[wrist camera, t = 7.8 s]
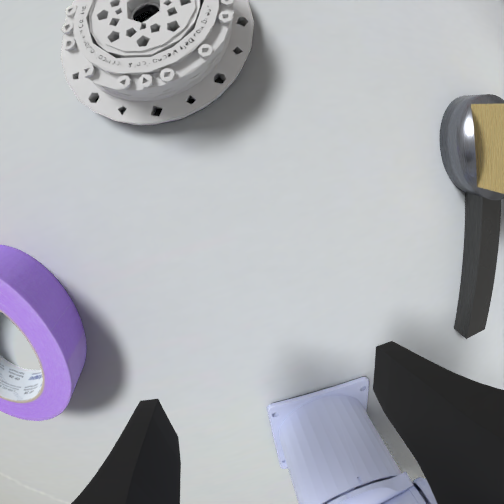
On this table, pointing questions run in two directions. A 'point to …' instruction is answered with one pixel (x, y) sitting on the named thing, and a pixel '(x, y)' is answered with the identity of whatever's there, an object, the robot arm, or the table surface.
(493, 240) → the ratchet
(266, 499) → the table surface
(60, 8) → the table surface
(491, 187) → the open wooden box
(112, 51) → the mechanical component
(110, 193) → the table surface
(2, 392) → the masking tape
